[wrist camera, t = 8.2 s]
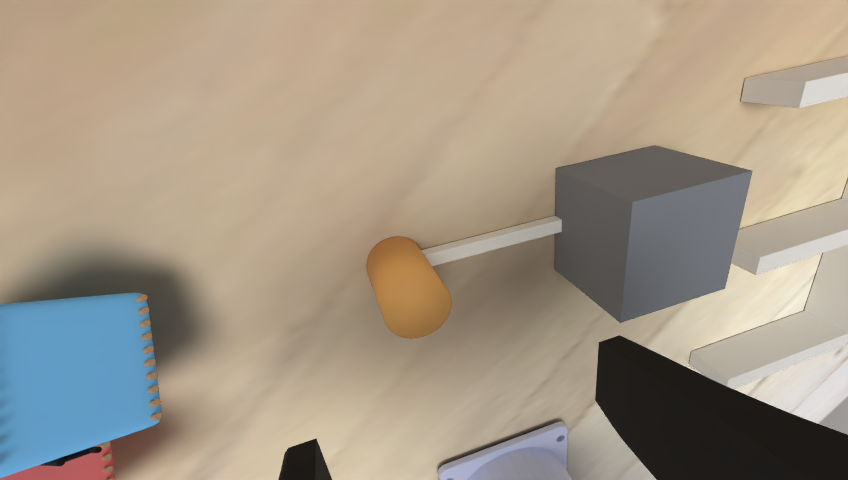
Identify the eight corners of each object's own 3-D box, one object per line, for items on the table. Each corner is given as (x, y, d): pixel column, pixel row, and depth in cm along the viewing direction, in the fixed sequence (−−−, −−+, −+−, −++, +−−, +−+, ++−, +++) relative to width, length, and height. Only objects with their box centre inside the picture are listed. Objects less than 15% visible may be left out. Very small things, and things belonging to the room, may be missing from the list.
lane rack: (811, 318, 28) (855, 341, 26) (689, 363, 26) (725, 392, 24) (983, -173, 17) (1086, -206, 15) (791, -157, 15) (877, -193, 13)
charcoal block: (642, 243, 21) (724, 288, 17) (377, 319, 18) (402, 393, 14) (654, 145, 19) (752, 170, 15) (354, 215, 16) (376, 269, 12)
